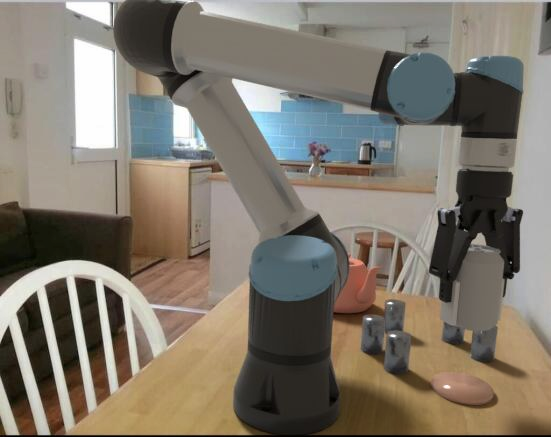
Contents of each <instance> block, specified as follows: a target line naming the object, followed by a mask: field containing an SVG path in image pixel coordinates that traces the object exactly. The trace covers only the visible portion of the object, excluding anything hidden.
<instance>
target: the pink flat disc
mask: <svg viewBox="0 0 551 437" xmlns="http://www.w3.org/2000/svg"><path fill="white" fill-rule="evenodd" d="M430 385H431V388H432V390H433V391H434V392H435V394H437V395H438V396H440V397H441V398H444V399H446V400H447V401H450V402H454V403H457V404H461V405H468V406H481V405H486V404H489V403H491V401H493V398H494V389H493V387H492V385H490V384H489V383H488V382H486V381H485V380H483V379H481V378H480V377H477V376H474V375H471V374H469V373H464V372H458V371H441V372H439V373H435V374H434V375H433V376H432V378H431V384H430Z"/></svg>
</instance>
